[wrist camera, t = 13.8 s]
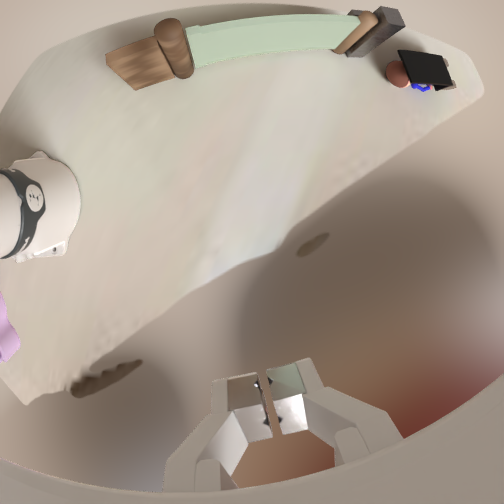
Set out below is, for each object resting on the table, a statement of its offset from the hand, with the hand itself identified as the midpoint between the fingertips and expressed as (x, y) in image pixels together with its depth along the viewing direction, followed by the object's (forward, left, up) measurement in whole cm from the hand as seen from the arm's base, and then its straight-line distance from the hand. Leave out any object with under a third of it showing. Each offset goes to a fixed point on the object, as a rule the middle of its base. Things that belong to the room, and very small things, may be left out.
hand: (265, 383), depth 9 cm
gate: (+12, +25, -34) cm, 44 cm away
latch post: (+25, +26, -34) cm, 49 cm away
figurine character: (+38, +20, -34) cm, 55 cm away
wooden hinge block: (-5, +25, -34) cm, 43 cm away
